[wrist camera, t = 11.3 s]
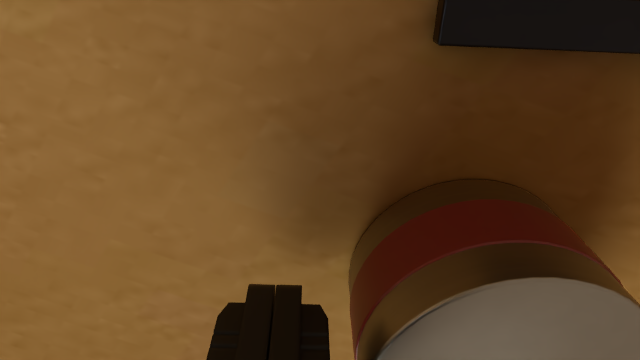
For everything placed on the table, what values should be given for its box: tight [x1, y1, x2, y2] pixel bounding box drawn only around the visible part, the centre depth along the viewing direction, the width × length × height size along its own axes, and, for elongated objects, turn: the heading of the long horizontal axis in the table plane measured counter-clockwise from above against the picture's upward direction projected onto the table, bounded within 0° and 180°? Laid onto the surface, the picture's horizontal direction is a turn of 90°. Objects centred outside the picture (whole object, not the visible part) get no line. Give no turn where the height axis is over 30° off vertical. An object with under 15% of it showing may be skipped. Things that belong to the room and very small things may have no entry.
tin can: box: [349, 179, 640, 360], centre depth 12 cm, size 7×7×4 cm
